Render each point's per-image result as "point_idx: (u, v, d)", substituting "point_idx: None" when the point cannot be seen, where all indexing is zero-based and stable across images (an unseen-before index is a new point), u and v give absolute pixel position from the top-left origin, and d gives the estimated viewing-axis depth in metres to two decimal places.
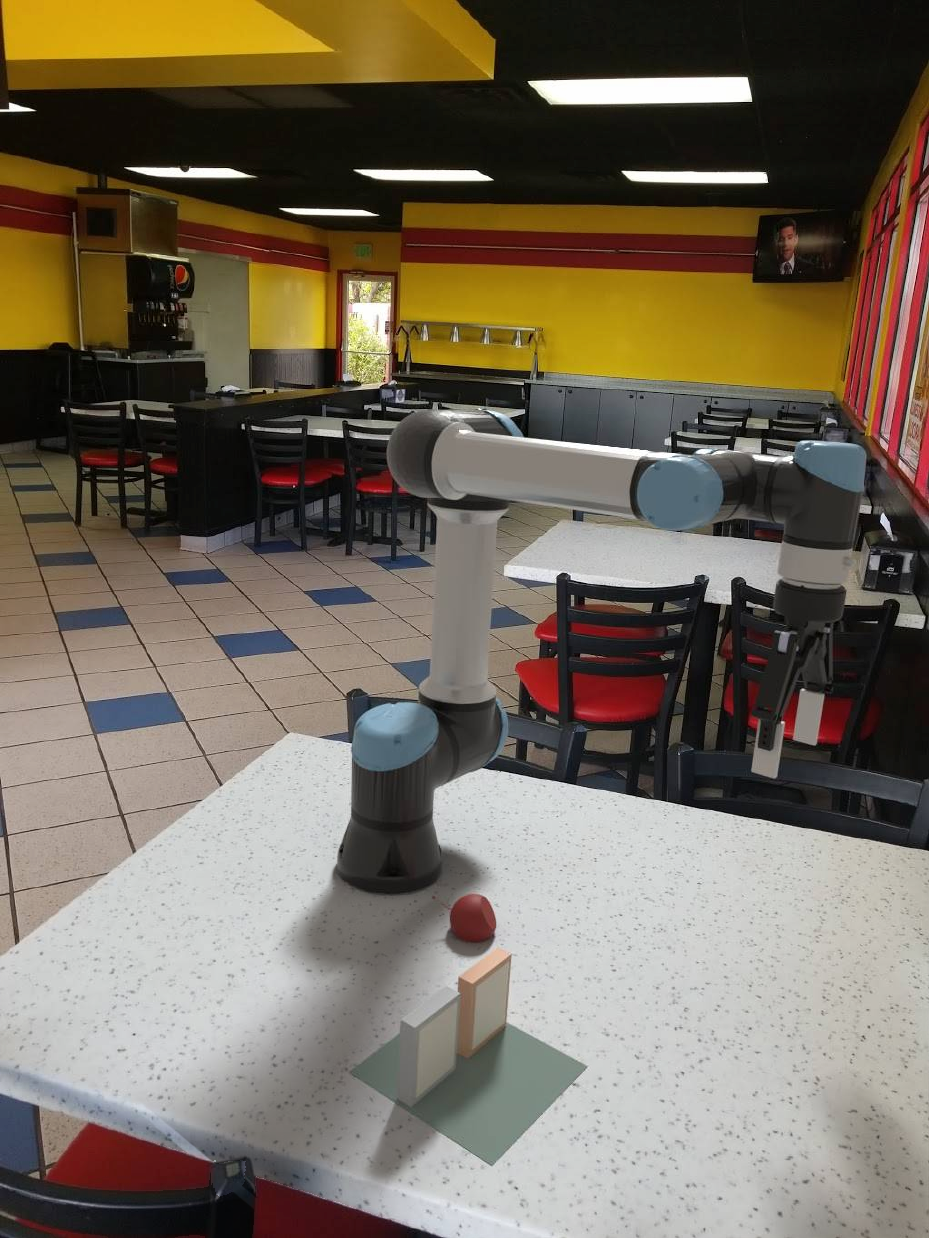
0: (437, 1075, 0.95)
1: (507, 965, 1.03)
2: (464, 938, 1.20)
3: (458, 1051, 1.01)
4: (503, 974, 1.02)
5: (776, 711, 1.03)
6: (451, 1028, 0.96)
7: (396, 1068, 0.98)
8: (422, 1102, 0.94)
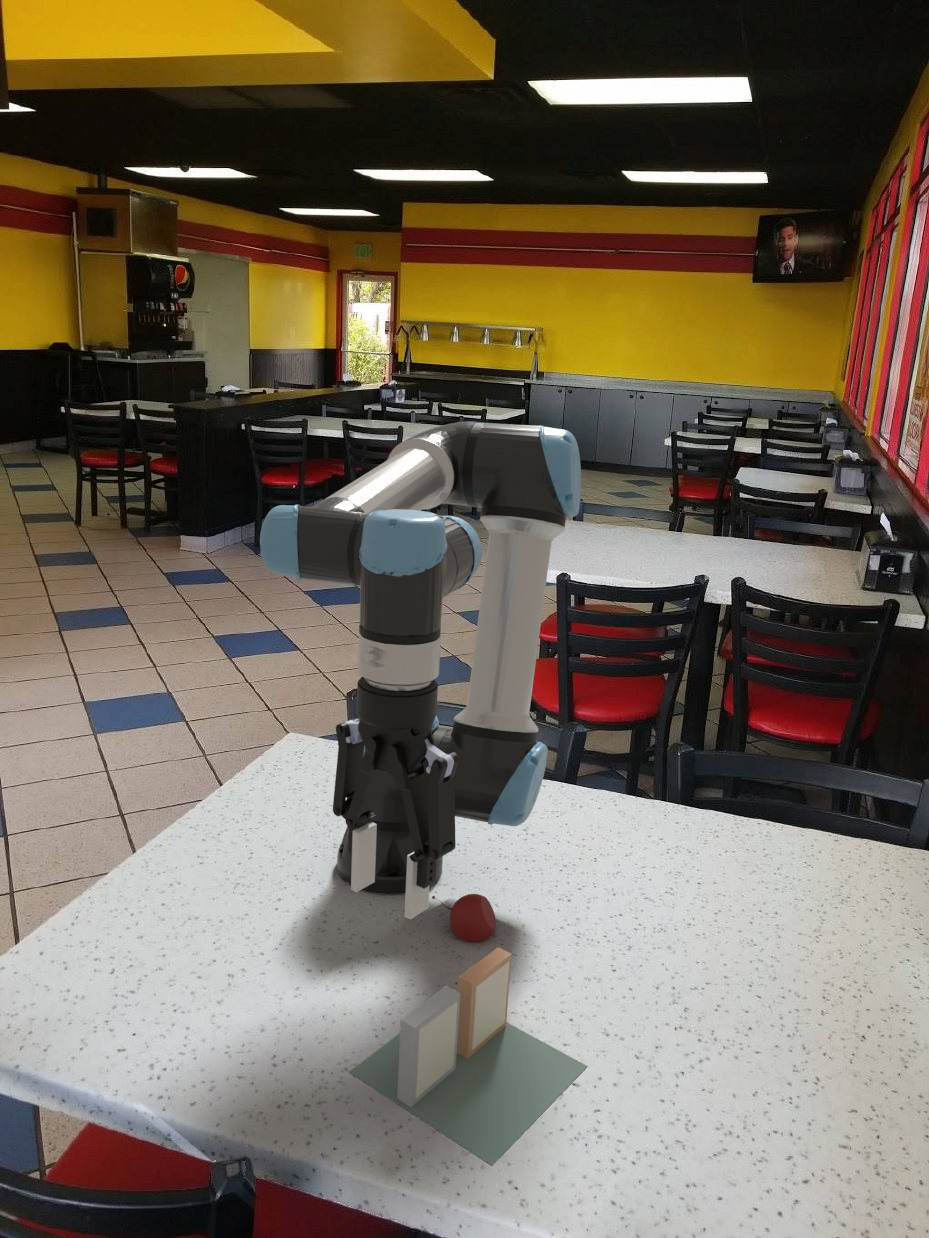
0: (437, 1075, 0.95)
1: (507, 965, 1.03)
2: (464, 938, 1.20)
3: (458, 1051, 1.01)
4: (503, 974, 1.02)
5: (335, 804, 0.96)
6: (451, 1028, 0.96)
7: (396, 1068, 0.98)
8: (422, 1102, 0.94)
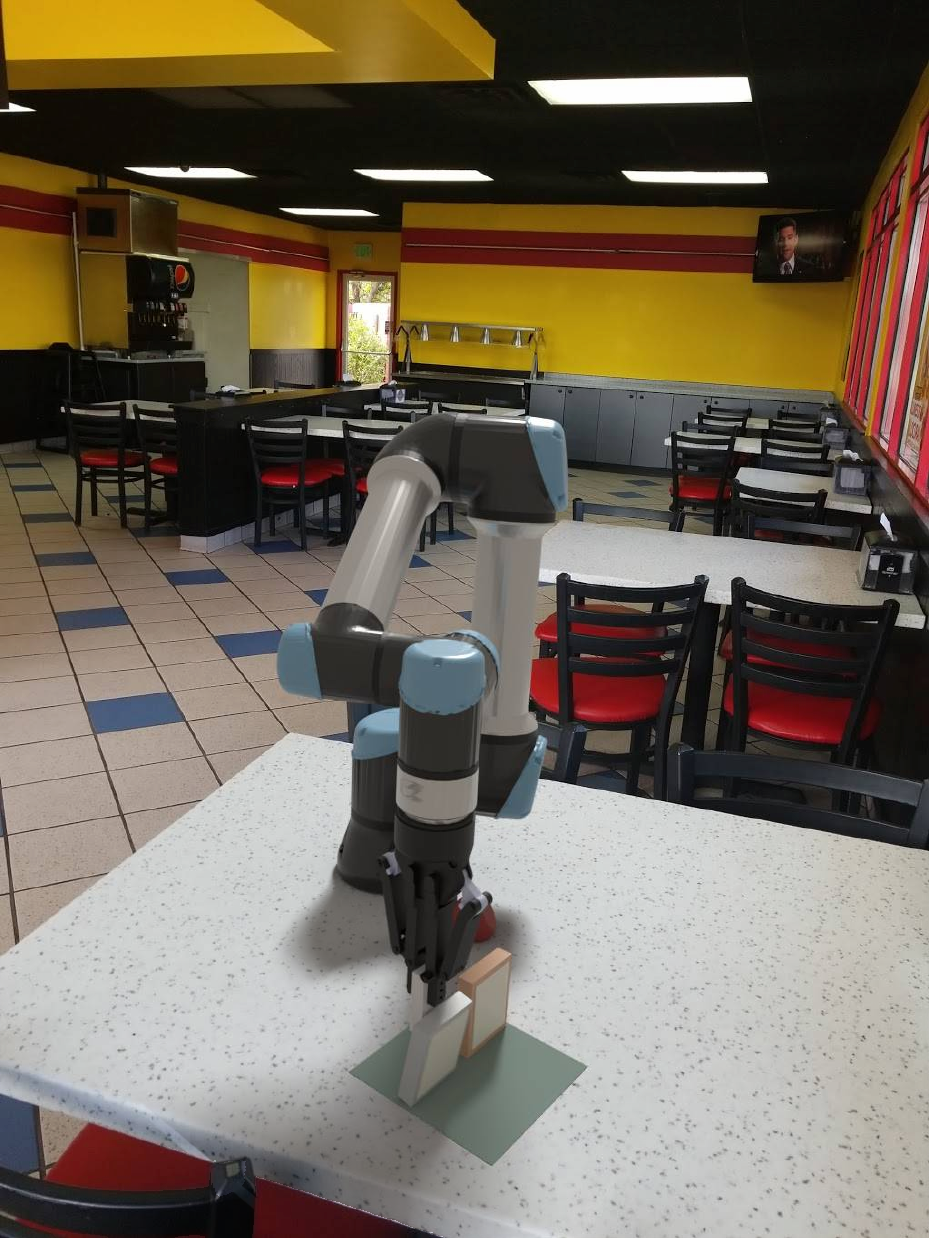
0: (439, 1077, 0.95)
1: (507, 965, 1.03)
2: None
3: None
4: (503, 974, 1.02)
5: (392, 942, 0.94)
6: (459, 1033, 0.95)
7: (396, 1068, 0.98)
8: (422, 1102, 0.94)
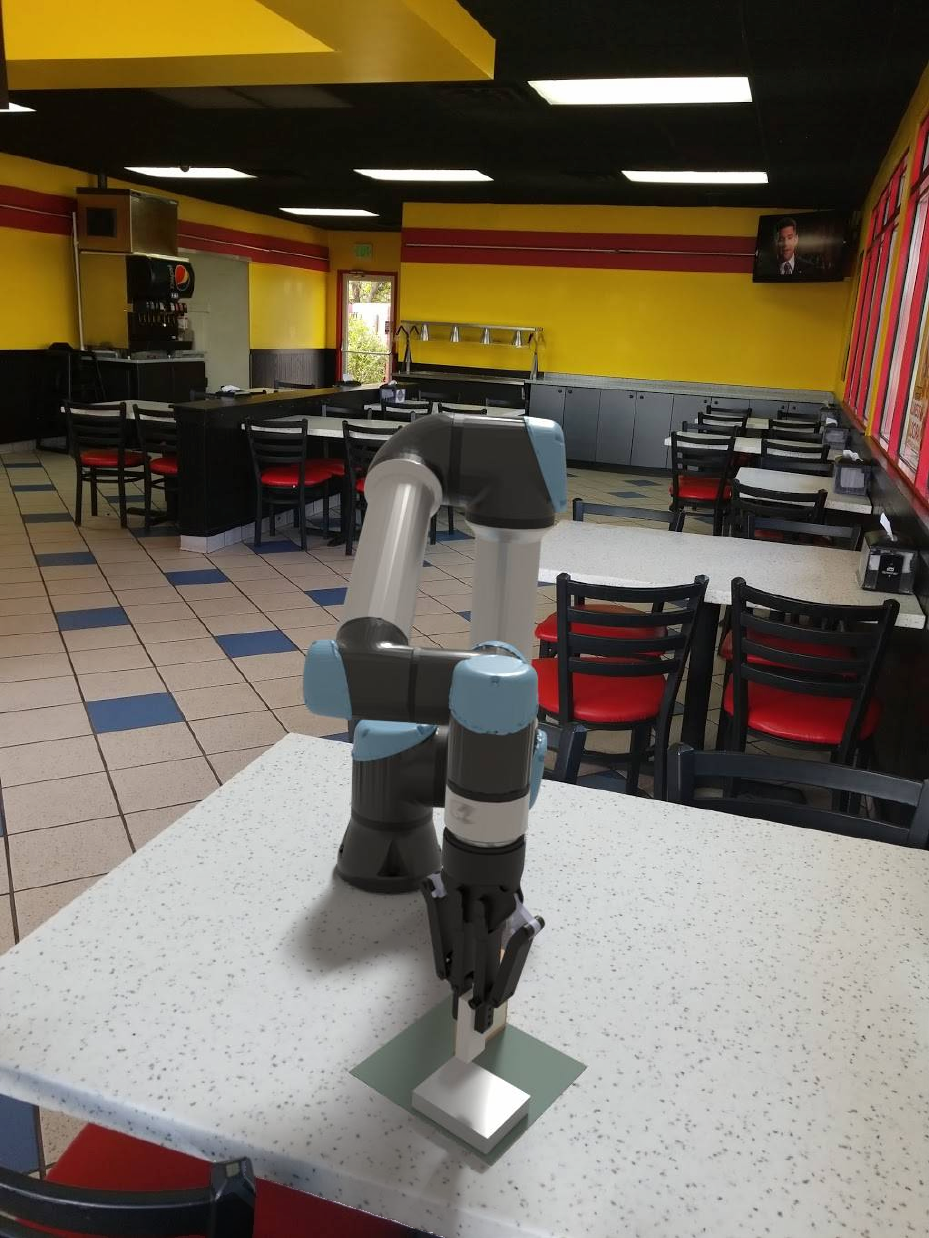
0: None
1: None
2: None
3: None
4: None
5: (438, 967, 0.91)
6: None
7: (396, 1068, 0.98)
8: None
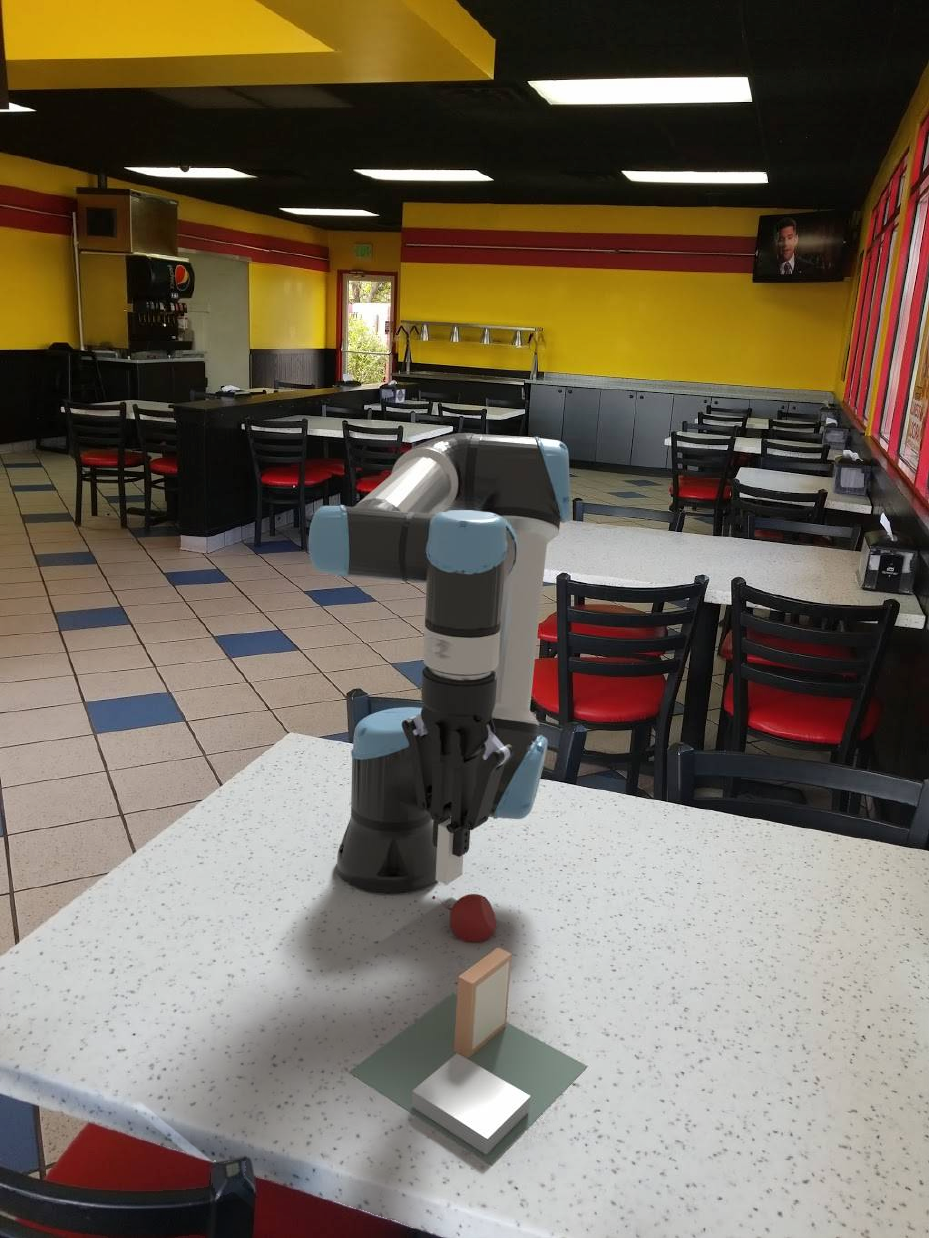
0: None
1: (507, 965, 1.03)
2: (464, 938, 1.20)
3: (458, 1051, 1.01)
4: (503, 974, 1.02)
5: (419, 799, 1.01)
6: None
7: (396, 1068, 0.98)
8: None
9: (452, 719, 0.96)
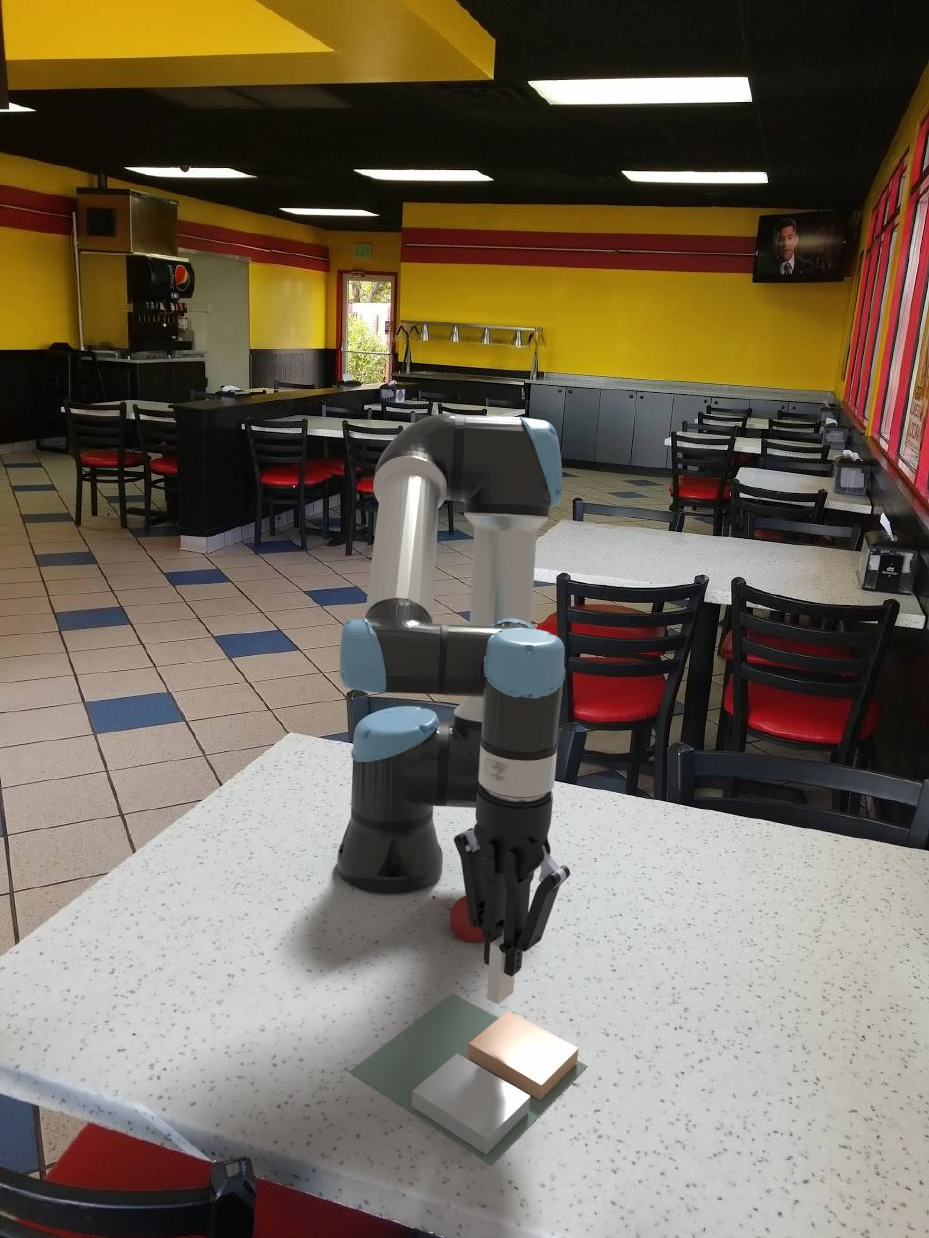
0: None
1: None
2: (464, 938, 1.20)
3: (470, 1049, 0.99)
4: None
5: (471, 916, 0.99)
6: None
7: (396, 1068, 0.98)
8: None
9: (507, 838, 0.95)
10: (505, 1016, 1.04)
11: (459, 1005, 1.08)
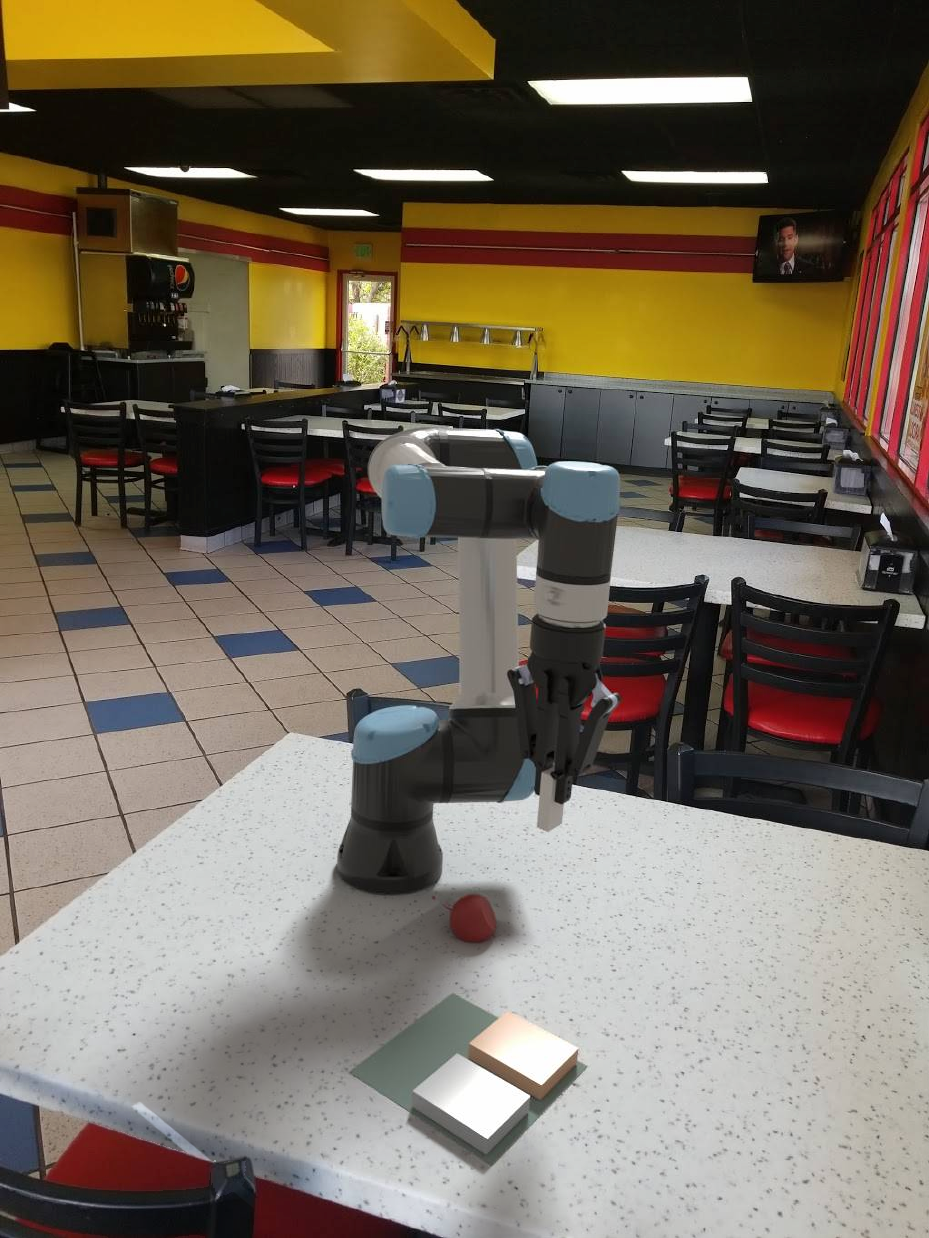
0: None
1: None
2: (464, 938, 1.20)
3: (470, 1049, 0.99)
4: None
5: (522, 748, 1.03)
6: None
7: (396, 1068, 0.98)
8: None
9: (560, 667, 0.98)
10: (505, 1016, 1.04)
11: (459, 1005, 1.08)
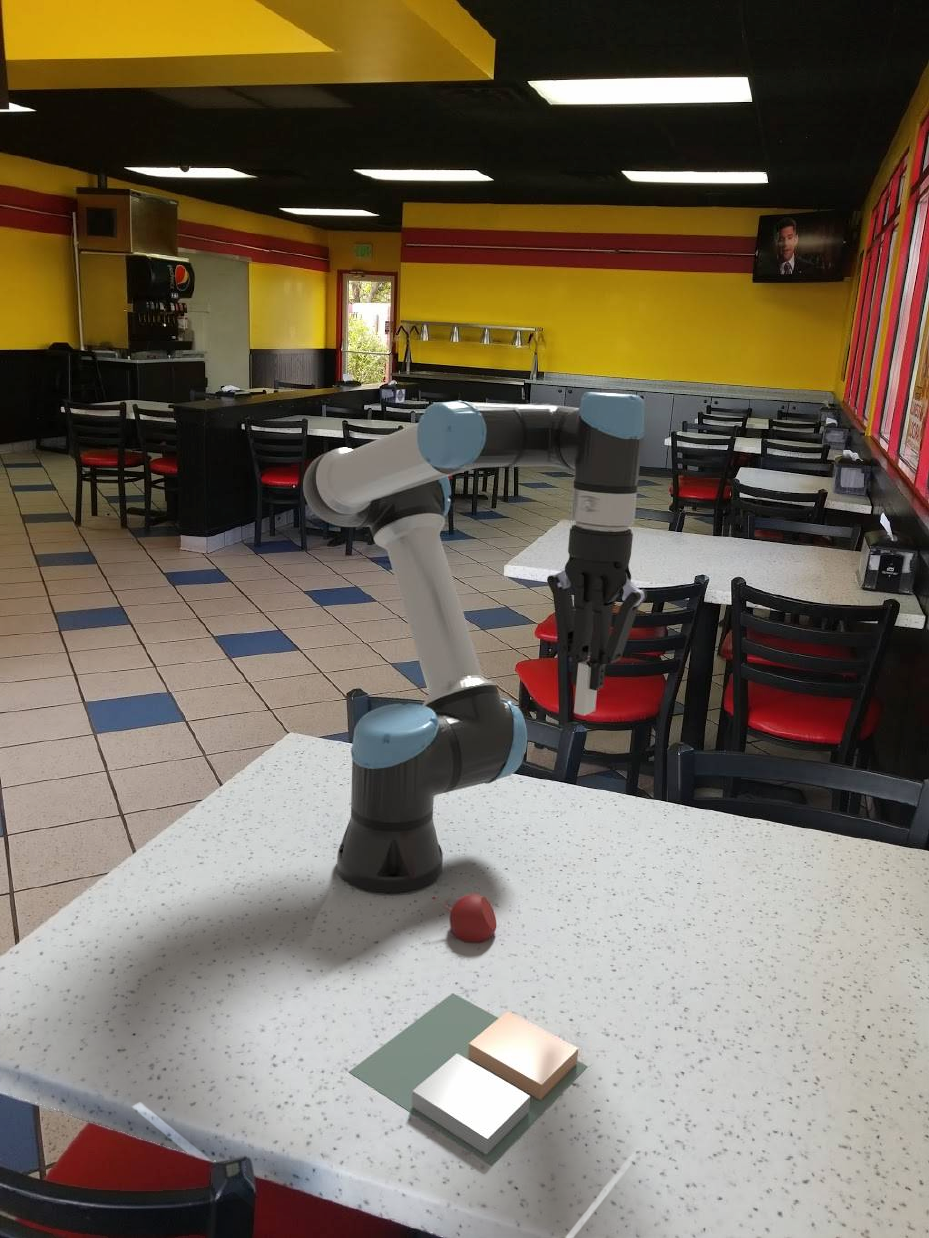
0: None
1: None
2: (464, 938, 1.20)
3: (470, 1049, 0.99)
4: None
5: (561, 643, 1.19)
6: None
7: (396, 1068, 0.98)
8: None
9: (594, 569, 1.15)
10: (505, 1016, 1.04)
11: (459, 1005, 1.08)
